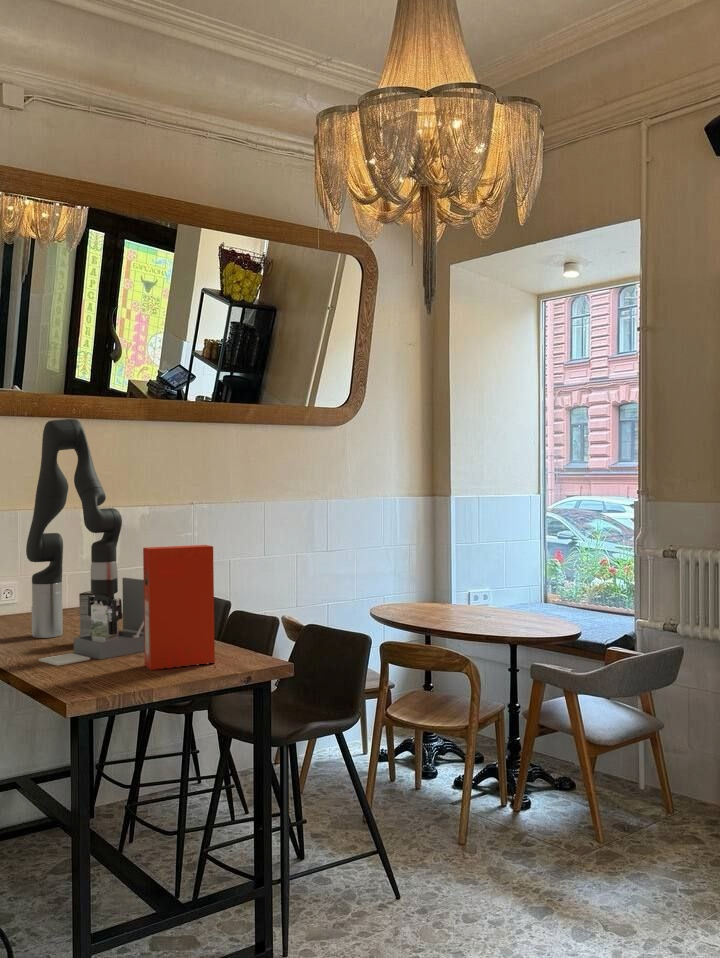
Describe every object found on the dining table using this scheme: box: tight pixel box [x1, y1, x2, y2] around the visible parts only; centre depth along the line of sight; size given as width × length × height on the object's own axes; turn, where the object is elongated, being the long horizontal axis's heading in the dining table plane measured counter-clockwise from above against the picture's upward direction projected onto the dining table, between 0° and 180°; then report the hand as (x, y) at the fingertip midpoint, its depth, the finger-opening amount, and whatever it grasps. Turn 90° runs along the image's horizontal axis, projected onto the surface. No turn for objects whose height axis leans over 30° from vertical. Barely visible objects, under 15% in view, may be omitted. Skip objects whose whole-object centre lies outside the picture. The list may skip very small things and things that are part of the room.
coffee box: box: [78, 590, 94, 637], centre depth 274 cm, size 9×6×16 cm
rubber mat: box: [38, 652, 91, 666], centre depth 248 cm, size 10×10×1 cm
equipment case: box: [73, 577, 145, 661], centre depth 260 cm, size 14×17×20 cm
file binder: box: [142, 544, 216, 671], centre depth 241 cm, size 8×17×32 cm, turn 116°
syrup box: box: [91, 604, 119, 643], centre depth 258 cm, size 6×6×14 cm
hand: (104, 633), depth 258 cm, fingers open, 8 cm apart
